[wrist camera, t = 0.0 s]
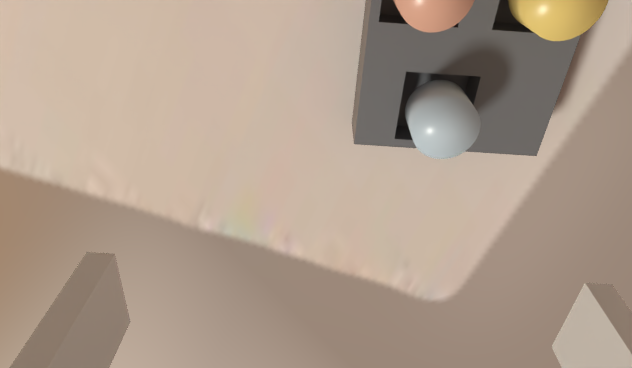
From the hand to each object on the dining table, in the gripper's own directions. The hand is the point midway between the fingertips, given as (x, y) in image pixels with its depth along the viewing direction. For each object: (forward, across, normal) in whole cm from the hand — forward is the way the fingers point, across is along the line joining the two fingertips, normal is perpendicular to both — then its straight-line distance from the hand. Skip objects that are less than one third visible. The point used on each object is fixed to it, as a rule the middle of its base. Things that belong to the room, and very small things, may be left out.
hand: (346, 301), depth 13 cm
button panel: (+28, +10, +1) cm, 30 cm away
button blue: (+24, +8, -4) cm, 26 cm away
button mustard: (+24, +14, +5) cm, 28 cm away
